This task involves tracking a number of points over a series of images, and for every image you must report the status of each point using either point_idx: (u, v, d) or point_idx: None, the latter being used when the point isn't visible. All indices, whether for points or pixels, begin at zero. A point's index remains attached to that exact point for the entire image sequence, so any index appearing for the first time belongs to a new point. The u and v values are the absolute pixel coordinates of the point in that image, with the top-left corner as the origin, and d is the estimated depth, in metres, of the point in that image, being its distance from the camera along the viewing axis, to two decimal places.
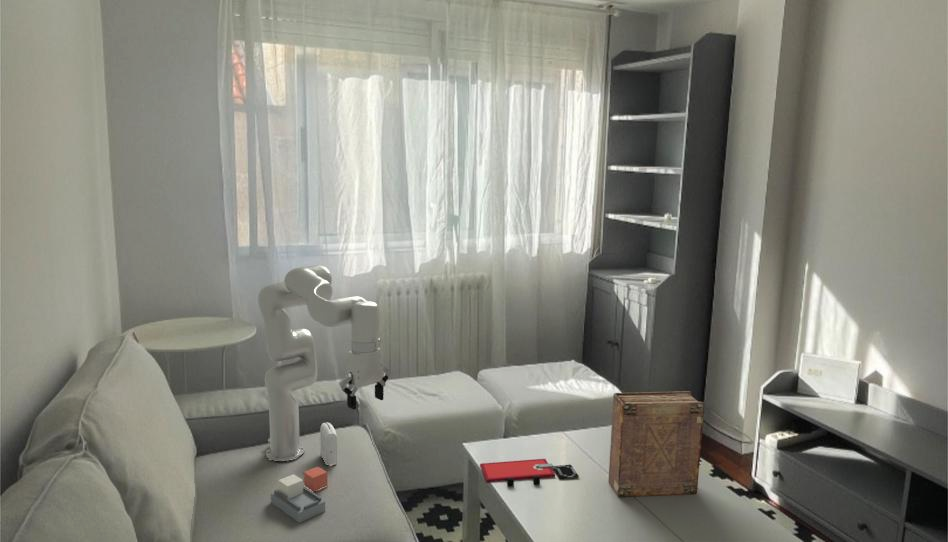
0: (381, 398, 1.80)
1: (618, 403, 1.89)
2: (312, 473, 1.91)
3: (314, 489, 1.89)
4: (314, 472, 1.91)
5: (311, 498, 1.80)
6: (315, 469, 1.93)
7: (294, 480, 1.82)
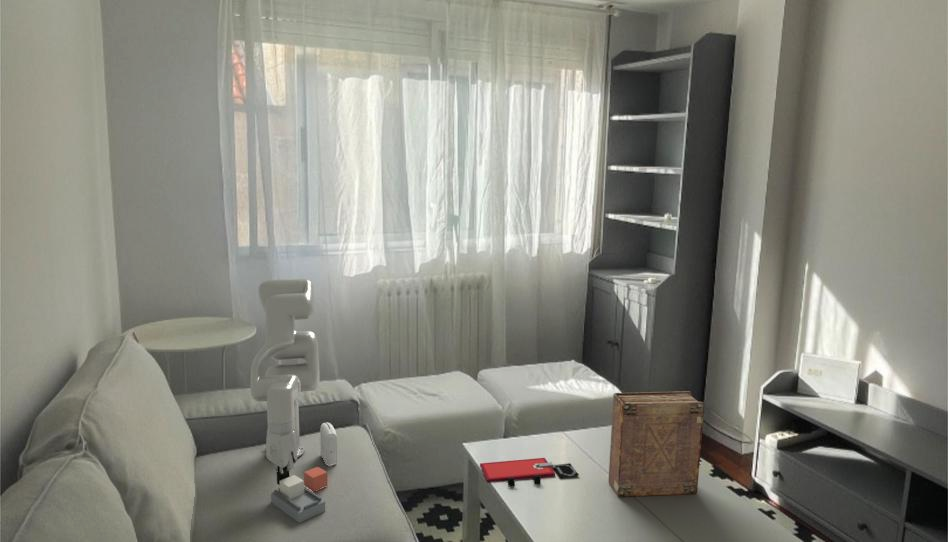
0: None
1: (618, 403, 1.89)
2: (312, 473, 1.91)
3: (314, 489, 1.89)
4: (314, 472, 1.91)
5: (311, 498, 1.80)
6: (315, 469, 1.93)
7: (295, 481, 1.81)
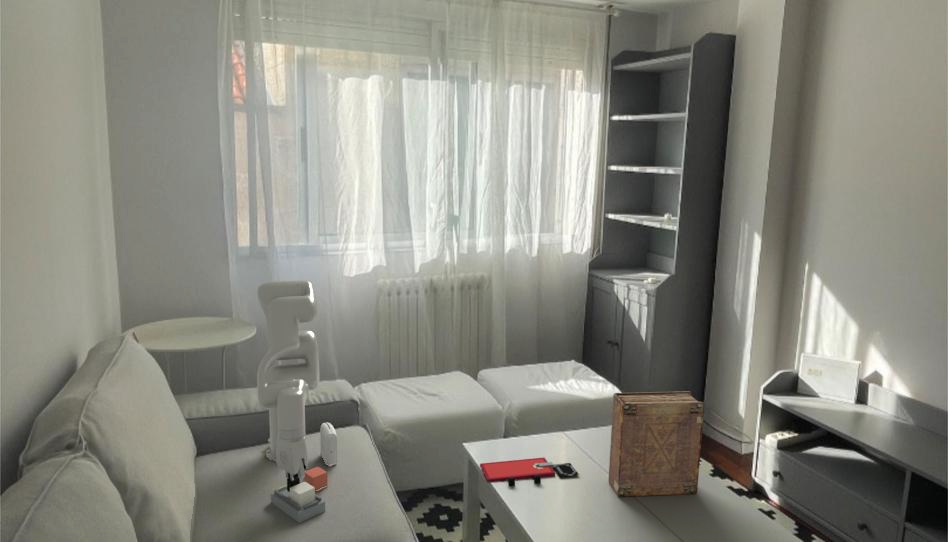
0: None
1: (618, 403, 1.89)
2: (312, 473, 1.91)
3: None
4: (314, 472, 1.91)
5: None
6: (315, 469, 1.93)
7: (306, 488, 1.78)
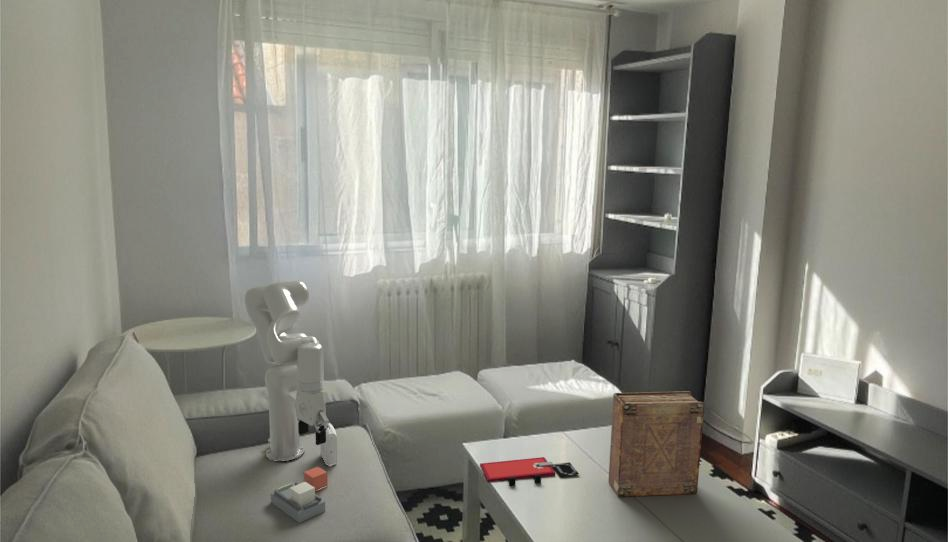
0: (308, 430, 1.93)
1: (618, 403, 1.89)
2: (312, 473, 1.91)
3: None
4: (314, 472, 1.91)
5: None
6: (315, 469, 1.93)
7: (306, 488, 1.78)
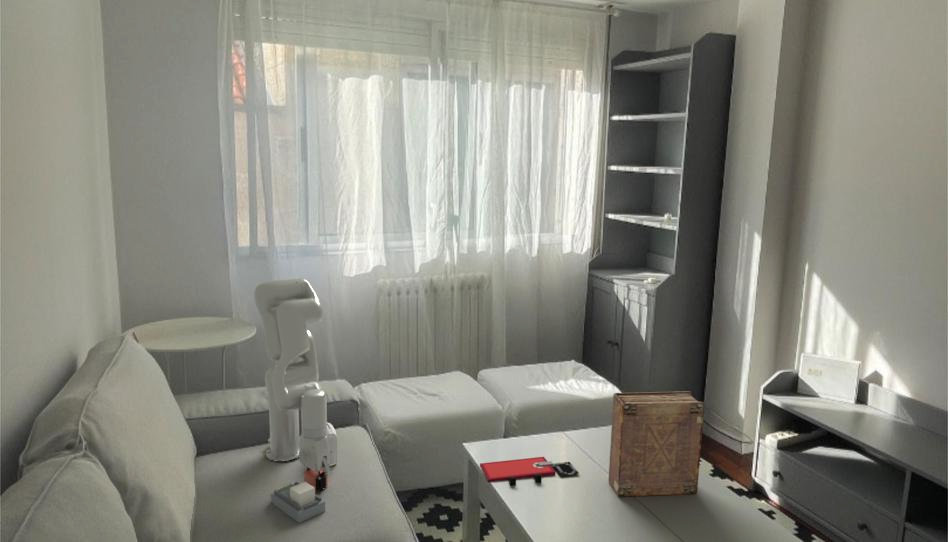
0: None
1: (618, 403, 1.89)
2: (312, 473, 1.91)
3: None
4: (314, 472, 1.91)
5: None
6: None
7: (306, 488, 1.78)
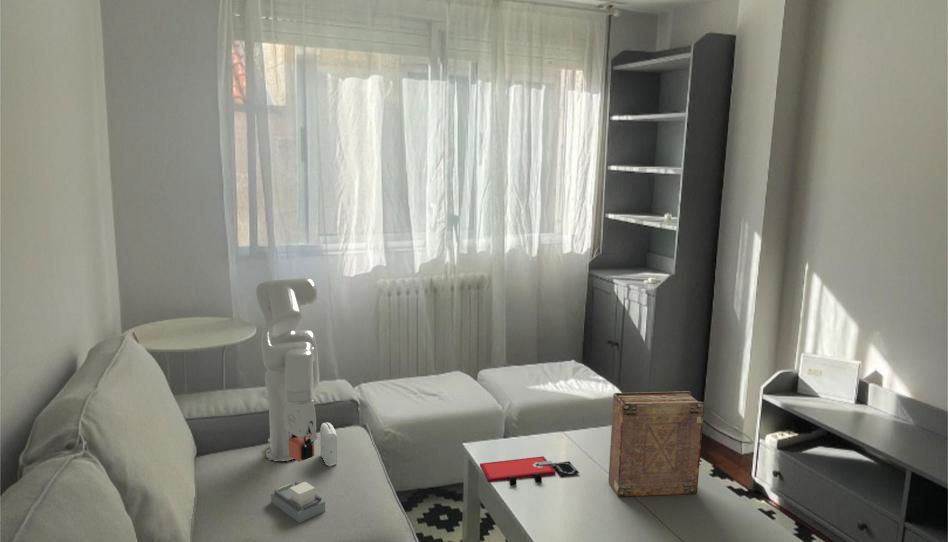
0: None
1: (618, 403, 1.89)
2: (297, 440, 1.75)
3: (299, 457, 1.73)
4: (300, 440, 1.75)
5: None
6: None
7: (306, 488, 1.78)
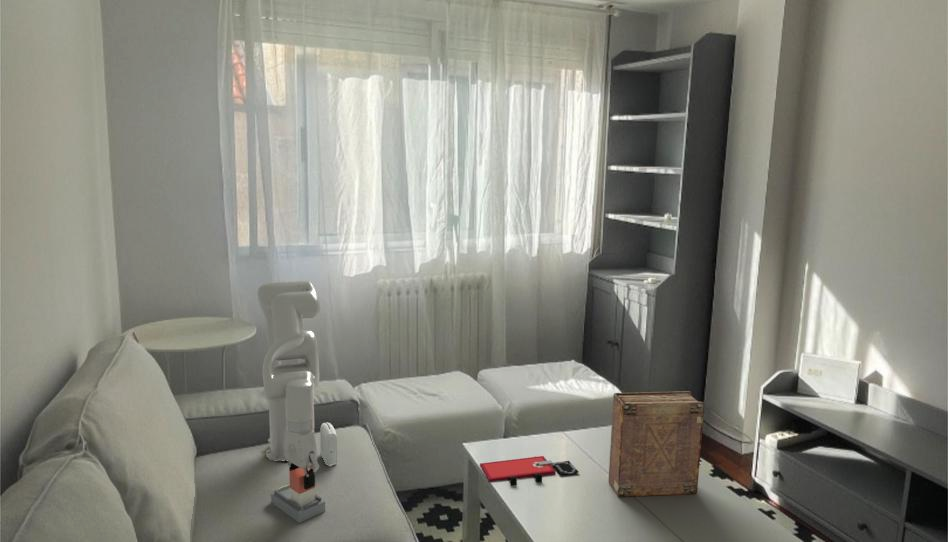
0: None
1: (618, 403, 1.89)
2: (298, 472, 1.76)
3: (300, 490, 1.75)
4: (301, 472, 1.77)
5: None
6: (302, 468, 1.79)
7: None
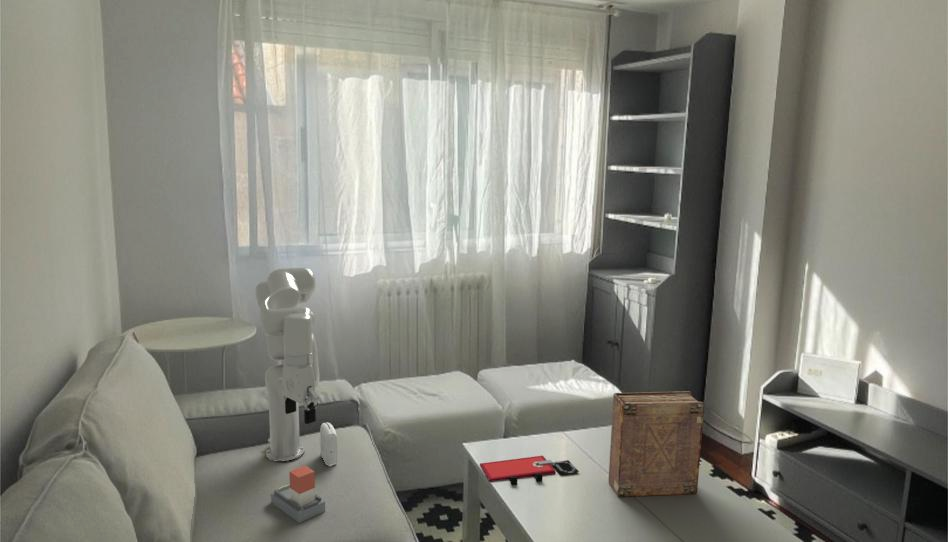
0: (295, 409, 1.78)
1: (618, 403, 1.89)
2: (298, 472, 1.76)
3: (300, 490, 1.75)
4: (301, 472, 1.77)
5: None
6: (302, 468, 1.79)
7: None
